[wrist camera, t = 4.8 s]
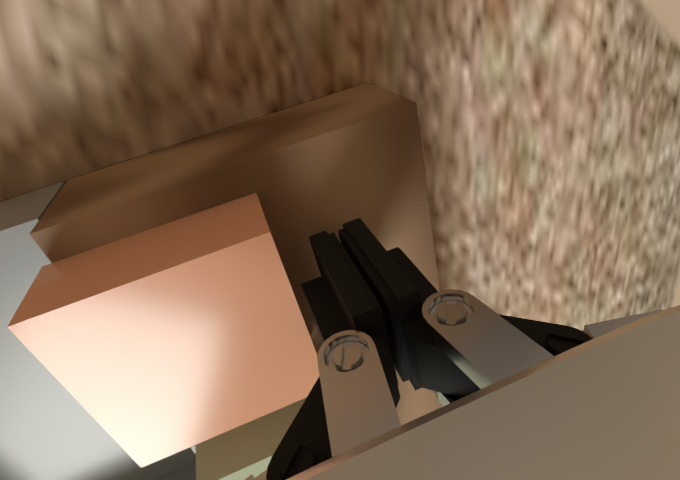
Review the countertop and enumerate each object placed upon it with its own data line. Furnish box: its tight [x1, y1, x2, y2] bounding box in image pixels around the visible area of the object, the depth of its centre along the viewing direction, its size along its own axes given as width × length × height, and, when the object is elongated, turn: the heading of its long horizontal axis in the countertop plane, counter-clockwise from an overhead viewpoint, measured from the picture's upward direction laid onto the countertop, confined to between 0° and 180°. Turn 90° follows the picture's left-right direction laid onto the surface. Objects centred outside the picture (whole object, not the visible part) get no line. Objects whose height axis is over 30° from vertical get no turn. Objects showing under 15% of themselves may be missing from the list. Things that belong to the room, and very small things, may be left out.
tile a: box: [7, 193, 320, 468], centre depth 12 cm, size 6×6×2 cm
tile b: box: [196, 397, 307, 480], centre depth 16 cm, size 6×6×2 cm
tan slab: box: [30, 83, 443, 447], centre depth 17 cm, size 11×16×4 cm
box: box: [0, 181, 196, 480], centre depth 16 cm, size 11×16×3 cm
